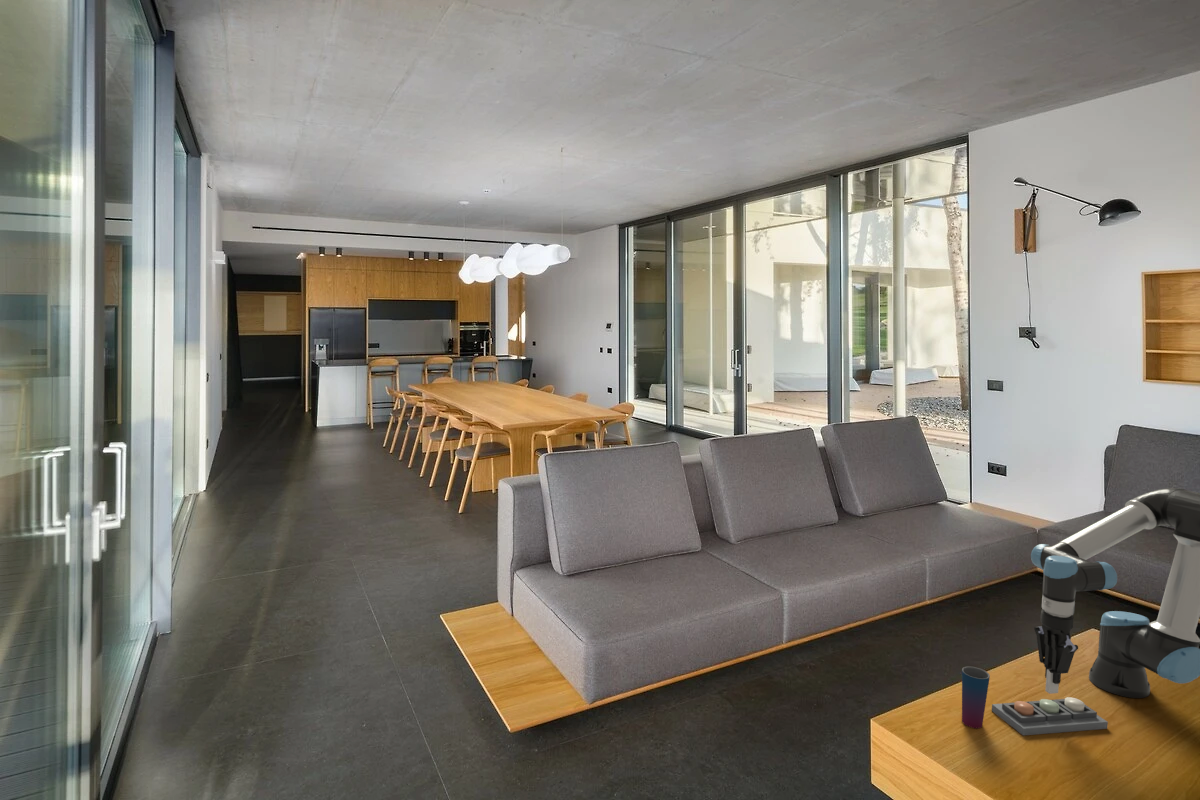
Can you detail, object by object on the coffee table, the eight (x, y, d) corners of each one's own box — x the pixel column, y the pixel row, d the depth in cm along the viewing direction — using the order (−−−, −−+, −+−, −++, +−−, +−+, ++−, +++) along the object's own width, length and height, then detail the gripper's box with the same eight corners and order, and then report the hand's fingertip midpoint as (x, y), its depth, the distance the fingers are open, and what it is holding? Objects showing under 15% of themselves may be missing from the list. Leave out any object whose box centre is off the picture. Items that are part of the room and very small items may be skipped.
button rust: (1024, 708, 192) (1025, 700, 192) (1037, 717, 188) (1037, 709, 187) (1010, 709, 191) (1010, 701, 191) (1022, 718, 187) (1022, 710, 187)
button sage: (1049, 706, 193) (1050, 698, 193) (1062, 715, 189) (1063, 707, 188) (1035, 707, 193) (1035, 699, 192) (1048, 716, 188) (1048, 708, 188)
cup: (989, 731, 185) (993, 680, 183) (962, 728, 186) (966, 677, 184) (980, 717, 191) (984, 667, 190) (955, 714, 193) (958, 665, 191)
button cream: (1074, 704, 194) (1075, 696, 194) (1087, 713, 190) (1088, 705, 189) (1060, 705, 194) (1060, 697, 193) (1073, 714, 189) (1074, 706, 189)
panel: (1071, 704, 199) (1072, 693, 198) (1107, 728, 187) (1108, 716, 186) (991, 710, 195) (992, 699, 195) (1022, 735, 183) (1023, 723, 183)
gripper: (1027, 603, 193) (1022, 681, 196) (1064, 623, 181) (1058, 705, 183) (1050, 601, 194) (1045, 679, 197) (1089, 621, 182) (1082, 703, 184)
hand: (1051, 691), depth 190 cm, fingers closed
